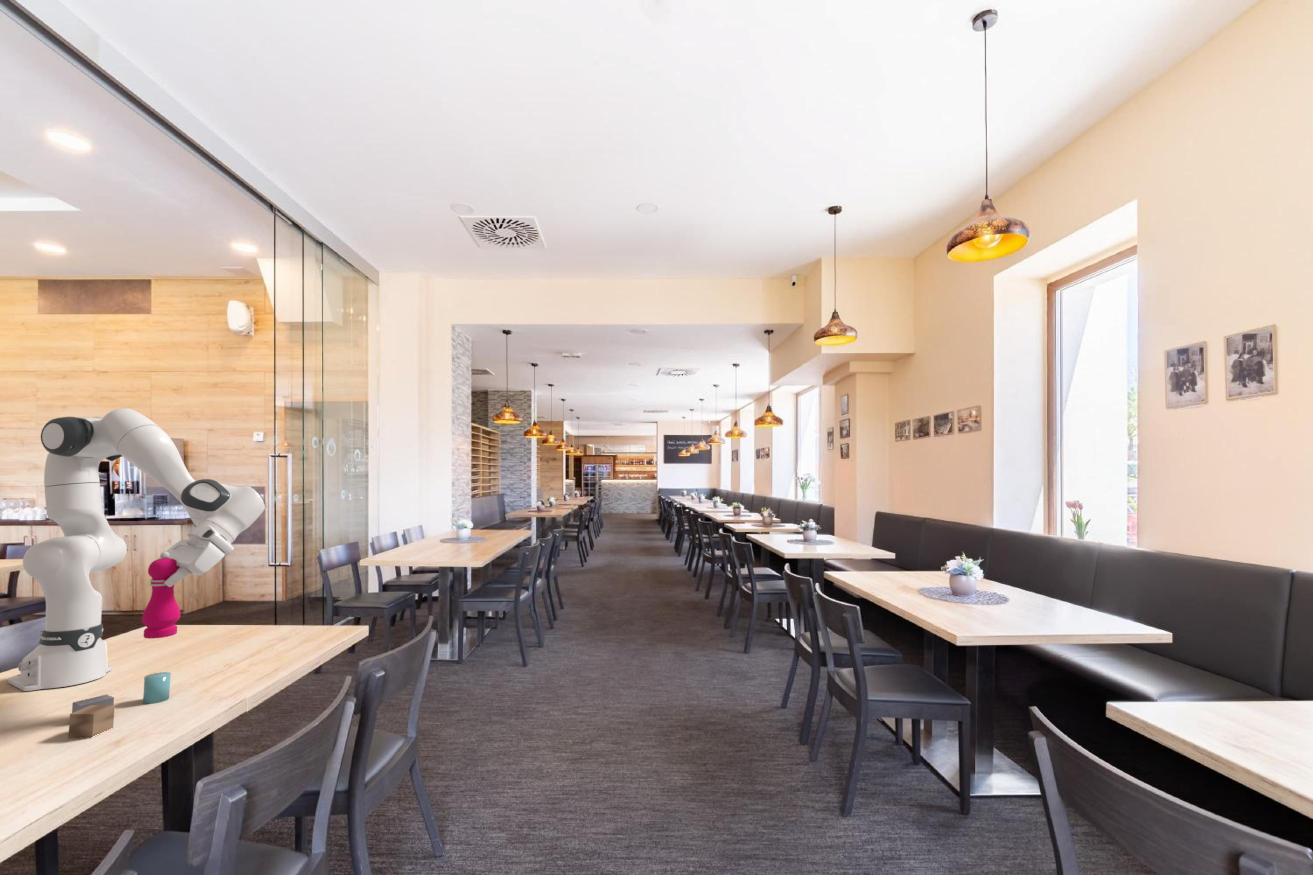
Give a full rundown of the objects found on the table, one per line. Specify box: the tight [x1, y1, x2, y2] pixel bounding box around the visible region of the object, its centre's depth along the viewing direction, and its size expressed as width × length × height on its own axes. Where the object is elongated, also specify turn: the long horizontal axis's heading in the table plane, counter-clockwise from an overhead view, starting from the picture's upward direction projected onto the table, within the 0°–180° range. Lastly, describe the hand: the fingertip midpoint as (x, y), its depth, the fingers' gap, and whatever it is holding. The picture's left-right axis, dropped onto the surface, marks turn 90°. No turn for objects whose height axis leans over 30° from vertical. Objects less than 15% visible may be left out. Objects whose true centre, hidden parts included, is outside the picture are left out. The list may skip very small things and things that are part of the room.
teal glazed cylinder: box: [142, 671, 172, 705], centre depth 149 cm, size 5×5×6 cm
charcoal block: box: [71, 693, 115, 713], centre depth 139 cm, size 4×6×4 cm, turn 151°
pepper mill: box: [141, 551, 181, 640], centre depth 146 cm, size 7×7×20 cm
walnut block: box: [67, 704, 116, 739], centre depth 130 cm, size 5×5×5 cm
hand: (160, 583), depth 146 cm, fingers closed on pepper mill, 5 cm apart
